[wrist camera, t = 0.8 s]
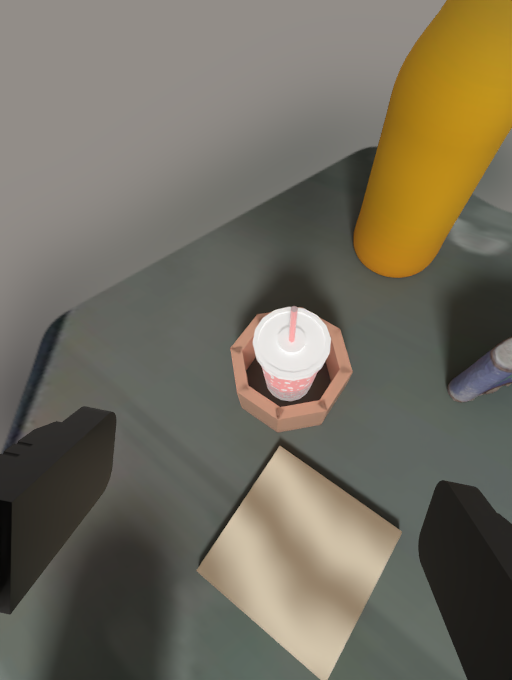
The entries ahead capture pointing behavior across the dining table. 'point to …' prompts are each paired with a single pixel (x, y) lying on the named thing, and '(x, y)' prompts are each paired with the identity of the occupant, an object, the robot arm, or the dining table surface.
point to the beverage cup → (291, 350)
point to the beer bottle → (437, 135)
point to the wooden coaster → (301, 560)
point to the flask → (484, 374)
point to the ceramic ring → (297, 413)
